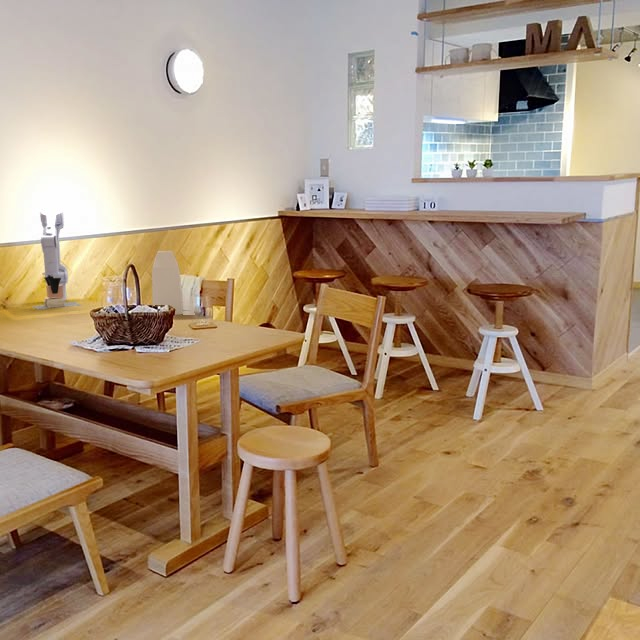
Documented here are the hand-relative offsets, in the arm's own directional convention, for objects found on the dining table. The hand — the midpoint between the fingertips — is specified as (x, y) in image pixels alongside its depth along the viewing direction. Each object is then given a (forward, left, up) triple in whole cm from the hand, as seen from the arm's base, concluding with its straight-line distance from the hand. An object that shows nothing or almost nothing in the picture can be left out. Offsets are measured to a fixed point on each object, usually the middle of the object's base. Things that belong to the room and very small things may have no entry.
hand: (53, 292), depth 328 cm
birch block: (0, 0, -6) cm, 6 cm away
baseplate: (0, +1, -7) cm, 7 cm away
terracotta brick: (0, 0, -2) cm, 2 cm away
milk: (+46, +36, -8) cm, 59 cm away
